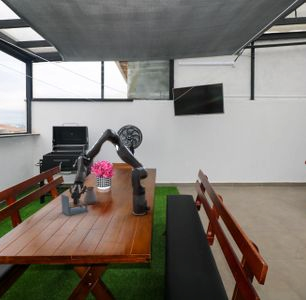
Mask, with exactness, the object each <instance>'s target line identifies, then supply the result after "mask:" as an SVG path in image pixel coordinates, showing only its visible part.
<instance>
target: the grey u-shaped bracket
mask: <svg viewBox="0 0 306 300" xmlns="http://www.w3.org/2000/svg"><path fill="white" fill-rule="evenodd" d="M83 206H84V207H83ZM88 210H89V209H88V204H87V203H86V202H84V200H81V199H79V203H78V204H74V203H73V201H71V202H70V197H69V195H67V194H65V193H61V211H62V213H63V214H64V215H65V216H68V217H69V216H74V215H77V214H81V213H86V212H88Z"/></svg>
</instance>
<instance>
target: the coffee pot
mask: <svg viewBox="0 0 306 300" xmlns="http://www.w3.org/2000/svg"><path fill="white" fill-rule="evenodd" d="M94 189H95V187H94V186H87V189H86V191H85V192H84V193H85V195H84V197H83V201H84V202H86V203H87V205H94V204H96V203H97V201H98V199H99V198H98V196H97V194H96V191H95V190H94ZM82 190H83V189H81V191H82Z"/></svg>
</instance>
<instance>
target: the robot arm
mask: <svg viewBox="0 0 306 300" xmlns="http://www.w3.org/2000/svg"><path fill="white" fill-rule="evenodd" d="M106 142H109V143H111V144H112V145H113V146H114V147H115V151H116V154H117V156H118V157H119V158H120V160H121V161H122V162H124V163H125V164H127V165H129V166H130V167H132V168H131V170H130V184H131V185H130V186H131V188H132V189H131V191H132V215H134V216H144V215H146V214H147V213H149V211H151V206H150V205H148V201H147V199H146V197H147V196H146V195H147V194H146V185H145V184H142V183H141V181H143V180H146V179H147V178H148V176H149V173H148V170H147V168H146V167H145V166H144V165H143V164H142V163H141V162H140V161H139V160H138V158H137V157H135V155H134V154H133V152H132V151H131V150H130V149H129V147H128V146H127V145H126V144H125V142H123V140H122V139H121V137H120V136H119V134H118V132H117V131H115V130H113V129H111V128H106V129H105V130H104V131H102V133H101V134H100V137H99V138H98V139H97V140H96V142H95V144H94V145H93V146H92V147H91V148H90V149H89V150H88V151H87V152H86V156H84V155H80V156H79V157H78V159H77V171H76V174H75V177H74V180H73V184H72V185H68V190H69V194H70V198H71V200H73V192H74V191H79V194H78V199H79V200H81V197H82V195H84V194H85V193H86V192H85V191H87V187H88V186H87V185H85V183H86V182H85V181H86V176H87V171H88V168H89V167H90V166H91V164H92V162H93V161H94V159H95V158H96V157H97V156H98V155H99V154H100V152H101V151H102V146H103V145H104V143H106ZM81 190H82V191H81Z"/></svg>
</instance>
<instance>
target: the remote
mask: <svg viewBox="0 0 306 300" xmlns="http://www.w3.org/2000/svg"><path fill="white" fill-rule="evenodd" d="M78 194H79V191H74V192H73V199H72V202H73V203H74V204H78V203H79V200H80V199H78Z"/></svg>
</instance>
